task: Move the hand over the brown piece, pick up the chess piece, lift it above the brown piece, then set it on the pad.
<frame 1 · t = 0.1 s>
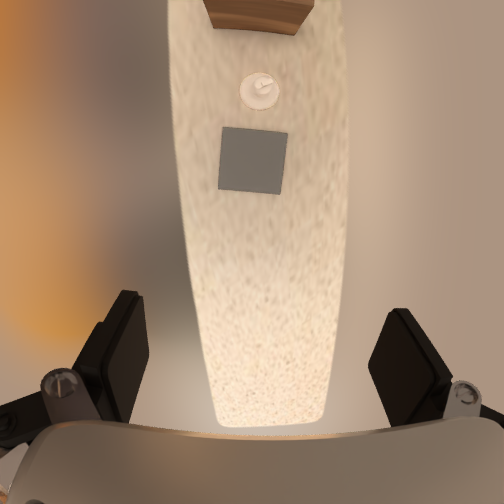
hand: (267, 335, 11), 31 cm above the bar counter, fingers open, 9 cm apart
chess piece: (259, 91, 35), on the bar counter
pad: (252, 160, 39), on the bar counter
brown piece: (254, 25, 31), on the bar counter
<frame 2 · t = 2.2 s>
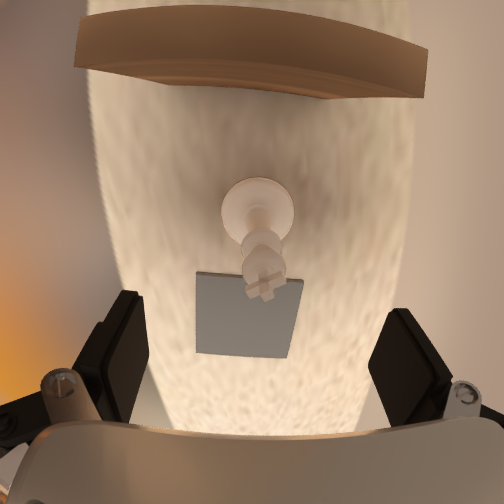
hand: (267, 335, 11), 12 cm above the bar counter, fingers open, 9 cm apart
chess piece: (257, 211, 22), on the bar counter
pad: (245, 318, 25), on the bar counter
brown piece: (248, 76, 17), on the bar counter
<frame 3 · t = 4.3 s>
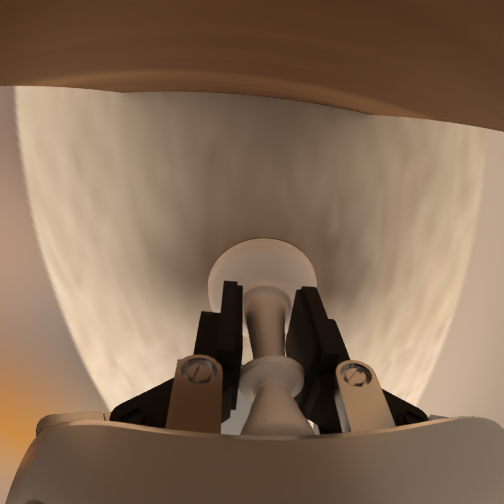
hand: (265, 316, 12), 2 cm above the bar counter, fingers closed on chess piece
chess piece: (262, 286, 14), on the bar counter, touching gripper
pad: (245, 408, 18), on the bar counter
brown piece: (248, 74, 10), on the bar counter
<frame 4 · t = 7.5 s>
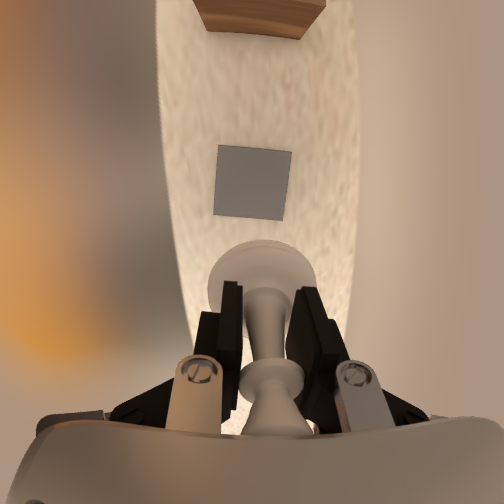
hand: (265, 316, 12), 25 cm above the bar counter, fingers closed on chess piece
chess piece: (262, 287, 14), point 23 cm above the bar counter, touching gripper
pad: (251, 183, 35), on the bar counter
brown piece: (254, 27, 28), on the bar counter
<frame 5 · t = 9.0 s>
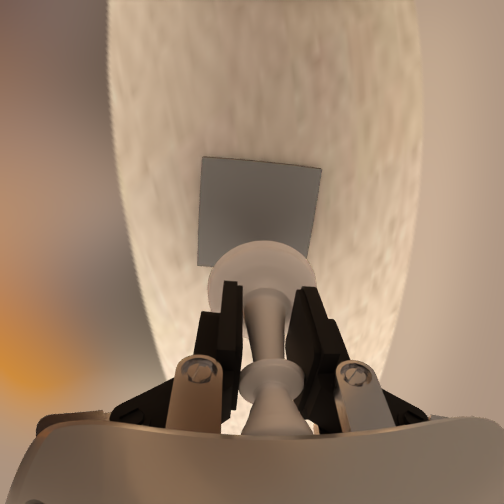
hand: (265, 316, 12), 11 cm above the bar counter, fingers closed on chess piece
chess piece: (262, 288, 14), point 9 cm above the bar counter, touching gripper
pad: (256, 217, 22), on the bar counter
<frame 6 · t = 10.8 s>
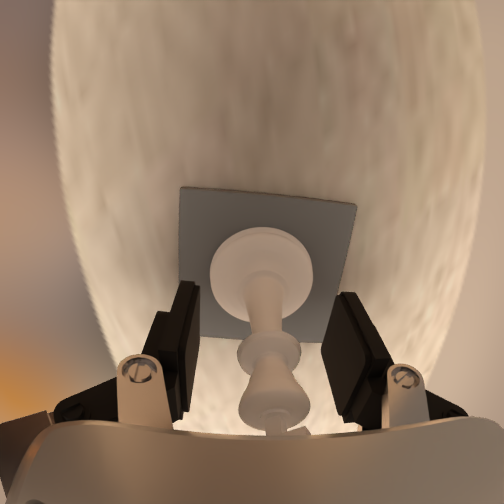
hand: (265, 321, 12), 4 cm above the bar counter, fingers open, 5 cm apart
chess piece: (261, 272, 15), resting on pad
pad: (260, 273, 16), on the bar counter
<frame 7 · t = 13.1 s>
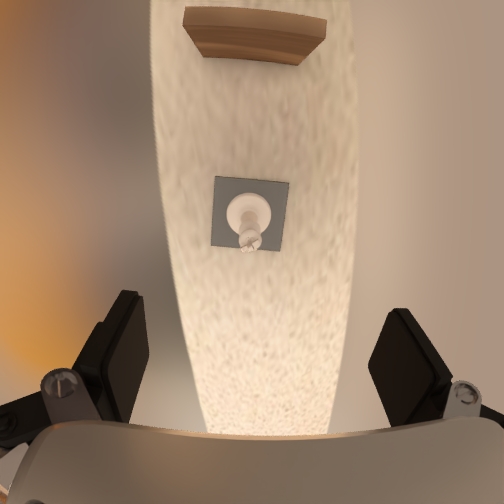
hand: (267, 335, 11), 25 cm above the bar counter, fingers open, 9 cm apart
chess piece: (248, 213, 35), resting on pad
pad: (248, 214, 35), on the bar counter
brown piece: (251, 53, 28), on the bar counter
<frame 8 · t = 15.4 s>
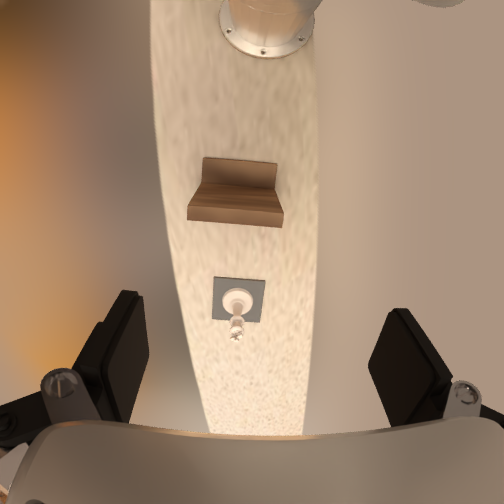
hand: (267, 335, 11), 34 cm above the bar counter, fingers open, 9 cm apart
chess piece: (237, 300, 51), resting on pad
pad: (237, 299, 51), on the bar counter
brown piece: (237, 189, 44), on the bar counter
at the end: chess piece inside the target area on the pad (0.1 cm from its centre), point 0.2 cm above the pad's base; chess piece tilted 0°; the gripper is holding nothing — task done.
